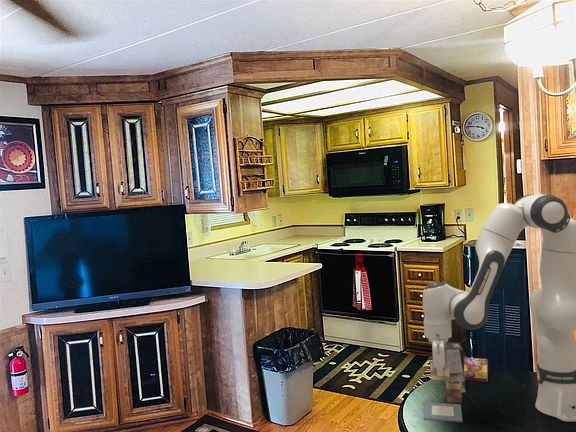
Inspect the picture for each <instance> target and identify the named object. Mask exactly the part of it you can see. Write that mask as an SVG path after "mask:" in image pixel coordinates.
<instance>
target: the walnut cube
mask: <svg viewBox="0 0 576 432" xmlns="http://www.w3.org/2000/svg"><path fill="white" fill-rule="evenodd" d="M445 390H446V391H445V393H446V402H447V403H448V404H462V403H463V400H462V392H461V385H460V384H452V383H445Z"/></svg>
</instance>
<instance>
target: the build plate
mask: <svg viewBox="0 0 576 432" xmlns="http://www.w3.org/2000/svg"><path fill="white" fill-rule="evenodd" d="M461 404H462V403H441V402H426V401H425V402H424V406H423V407H424V410H423V411H424V412H423V419H424V420H426V421H440V422H442V421H443V422H457V423H463V415H462V414H463V412H462V405H461Z"/></svg>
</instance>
